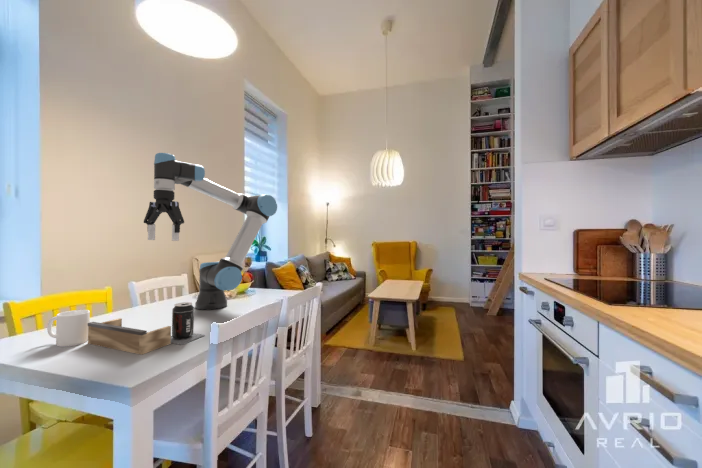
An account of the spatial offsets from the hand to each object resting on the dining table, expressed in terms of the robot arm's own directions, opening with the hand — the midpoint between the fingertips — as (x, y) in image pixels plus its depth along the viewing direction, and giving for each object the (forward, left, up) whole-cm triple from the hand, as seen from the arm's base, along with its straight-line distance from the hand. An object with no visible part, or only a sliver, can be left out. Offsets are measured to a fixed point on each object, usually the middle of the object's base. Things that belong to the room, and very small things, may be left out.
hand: (163, 240), depth 127 cm
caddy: (+22, +13, -35) cm, 43 cm away
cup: (+29, -7, -35) cm, 46 cm away
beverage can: (+12, +25, -34) cm, 44 cm away
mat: (+12, +25, -35) cm, 44 cm away
